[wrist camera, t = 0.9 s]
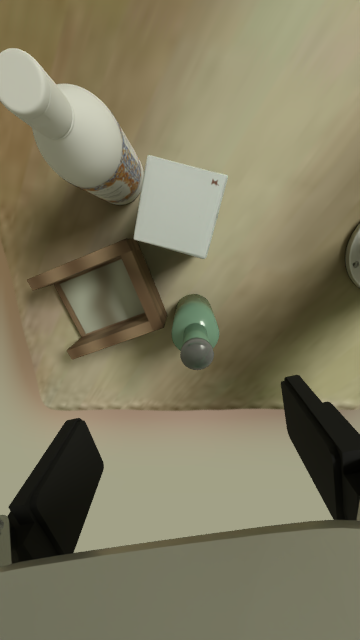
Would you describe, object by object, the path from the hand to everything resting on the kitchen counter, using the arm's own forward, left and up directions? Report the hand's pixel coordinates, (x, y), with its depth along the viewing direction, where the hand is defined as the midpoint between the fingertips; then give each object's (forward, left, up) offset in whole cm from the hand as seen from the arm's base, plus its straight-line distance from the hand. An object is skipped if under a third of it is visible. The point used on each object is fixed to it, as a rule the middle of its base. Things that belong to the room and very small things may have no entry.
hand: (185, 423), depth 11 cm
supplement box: (-3, -10, -27) cm, 29 cm away
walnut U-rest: (+11, -4, -27) cm, 29 cm away
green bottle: (0, +3, -27) cm, 27 cm away
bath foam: (+3, -18, -27) cm, 33 cm away
